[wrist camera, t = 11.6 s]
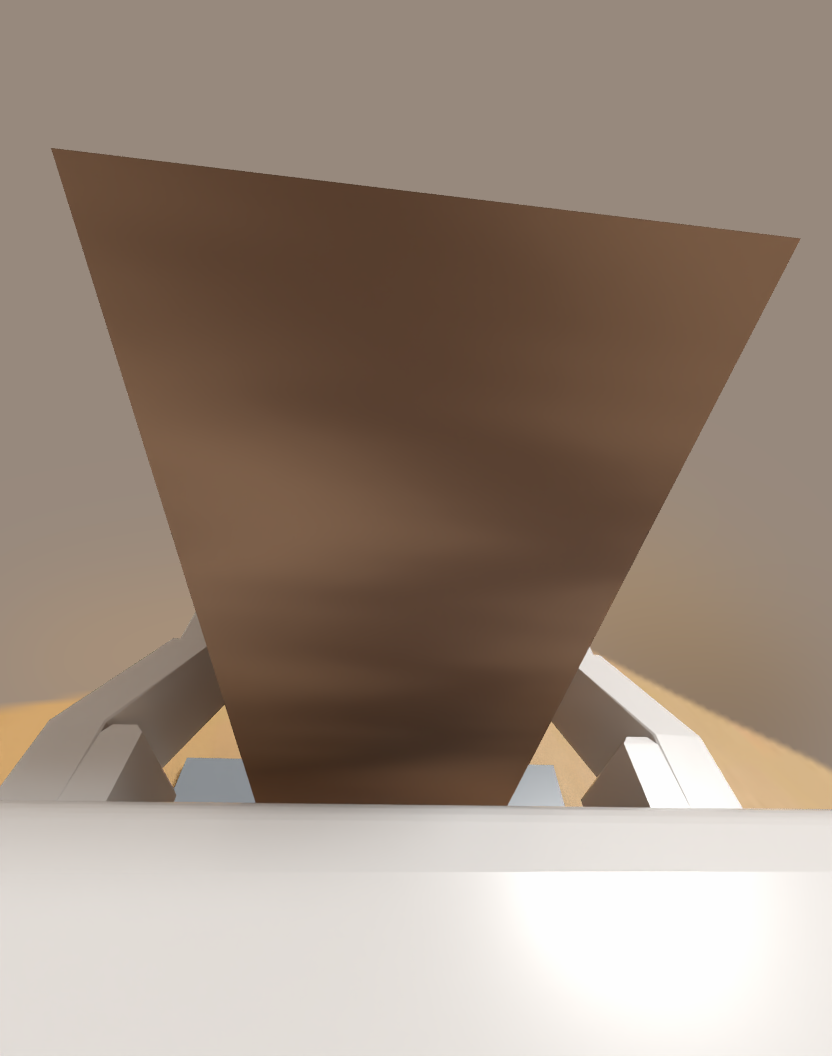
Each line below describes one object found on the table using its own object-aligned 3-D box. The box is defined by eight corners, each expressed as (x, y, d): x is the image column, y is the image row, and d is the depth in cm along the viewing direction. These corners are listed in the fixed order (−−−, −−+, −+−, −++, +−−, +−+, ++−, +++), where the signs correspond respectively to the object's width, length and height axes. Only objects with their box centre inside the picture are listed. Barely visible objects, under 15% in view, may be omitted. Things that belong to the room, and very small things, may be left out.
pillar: (286, 901, 12) (50, 147, 3) (316, 730, 16) (269, 204, 7) (458, 900, 12) (799, 238, 3) (444, 733, 16) (568, 239, 7)
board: (-55, 1373, 11) (-77, 1387, 11) (190, 766, 24) (187, 757, 24) (694, 1311, 13) (710, 1320, 12) (548, 772, 26) (553, 765, 25)
